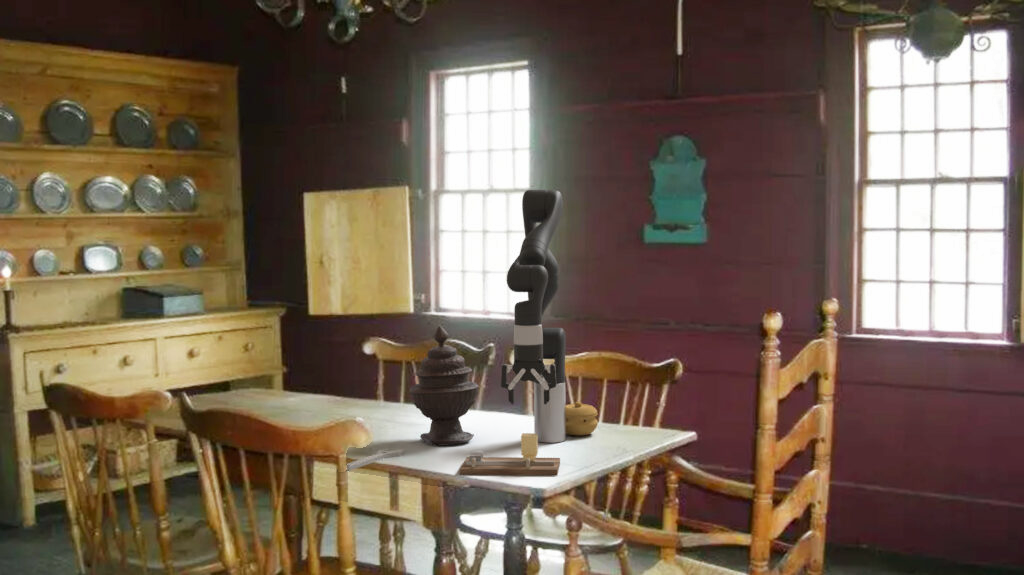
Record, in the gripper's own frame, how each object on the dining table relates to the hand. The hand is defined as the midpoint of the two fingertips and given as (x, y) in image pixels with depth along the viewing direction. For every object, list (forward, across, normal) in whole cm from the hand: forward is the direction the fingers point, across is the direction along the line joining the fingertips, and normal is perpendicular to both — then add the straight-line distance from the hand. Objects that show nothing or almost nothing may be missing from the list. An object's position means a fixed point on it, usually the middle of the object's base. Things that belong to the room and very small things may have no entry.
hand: (529, 403), depth 287 cm
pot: (+18, -11, -47) cm, 51 cm away
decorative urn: (+18, +28, -35) cm, 48 cm away
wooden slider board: (+17, +5, 0) cm, 18 cm away
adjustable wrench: (+18, +44, -8) cm, 48 cm away
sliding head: (+15, 0, 0) cm, 15 cm away
